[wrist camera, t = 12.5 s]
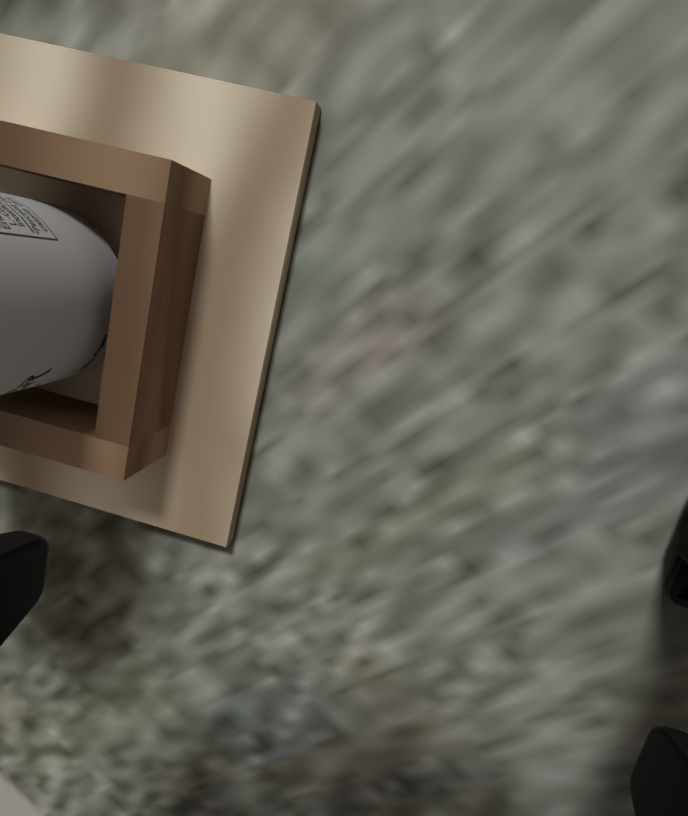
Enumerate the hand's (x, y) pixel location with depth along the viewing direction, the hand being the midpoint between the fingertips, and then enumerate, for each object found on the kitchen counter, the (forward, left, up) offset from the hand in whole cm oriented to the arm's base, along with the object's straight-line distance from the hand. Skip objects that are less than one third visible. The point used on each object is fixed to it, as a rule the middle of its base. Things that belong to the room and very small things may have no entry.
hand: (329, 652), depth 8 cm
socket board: (+13, -2, -13) cm, 18 cm away
